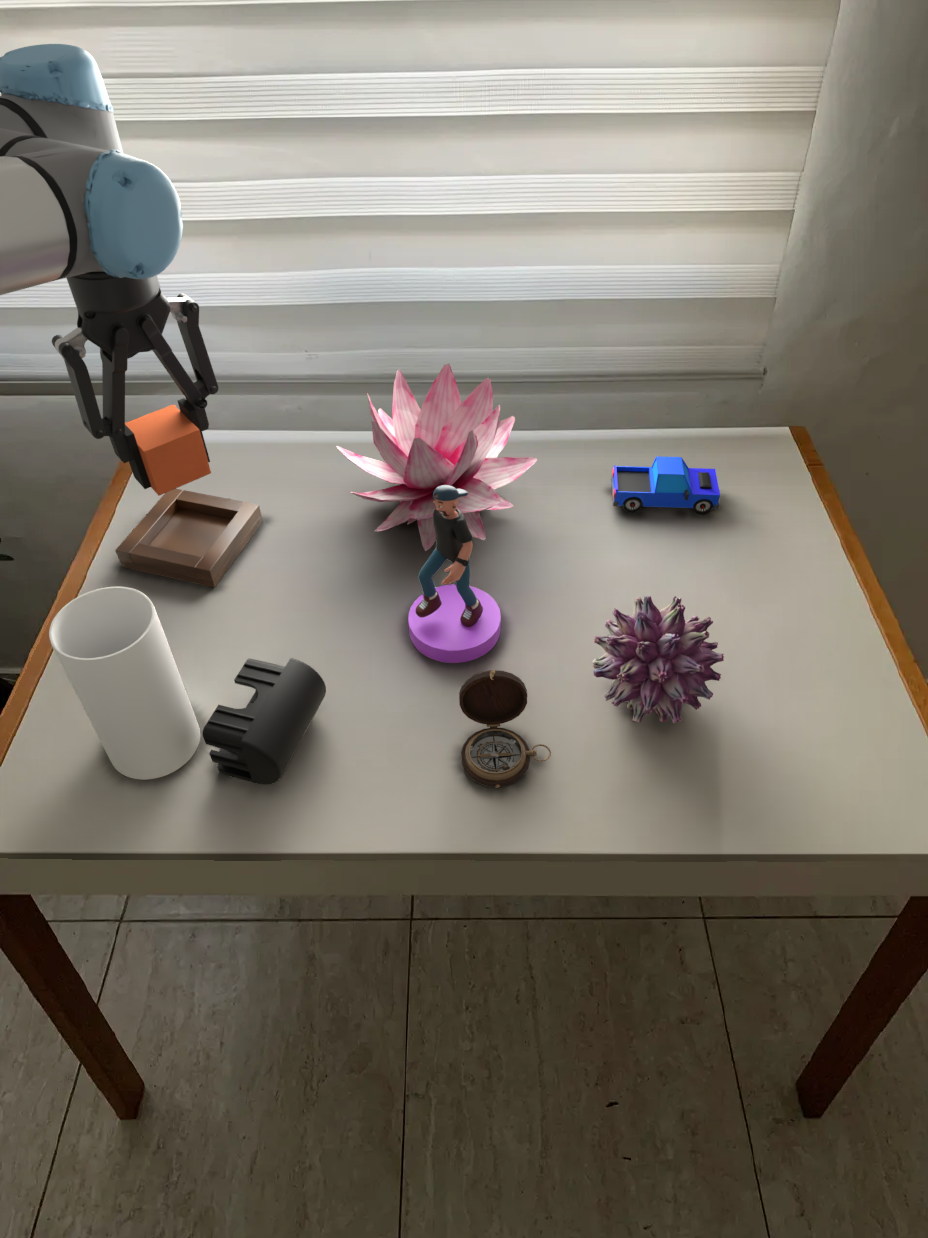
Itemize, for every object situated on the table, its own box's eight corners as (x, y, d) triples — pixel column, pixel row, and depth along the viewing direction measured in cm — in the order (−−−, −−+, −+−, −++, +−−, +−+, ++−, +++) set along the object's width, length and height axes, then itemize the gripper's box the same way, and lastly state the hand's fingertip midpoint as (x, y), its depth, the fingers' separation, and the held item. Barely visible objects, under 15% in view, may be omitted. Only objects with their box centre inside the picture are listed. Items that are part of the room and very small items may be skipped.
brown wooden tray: (214, 587, 98) (209, 570, 96) (121, 567, 101) (114, 550, 99) (263, 521, 106) (259, 504, 104) (175, 503, 108) (170, 487, 107)
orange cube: (158, 496, 93) (143, 451, 89) (134, 468, 97) (119, 424, 93) (211, 473, 96) (199, 429, 92) (186, 447, 99) (173, 403, 95)
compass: (462, 792, 79) (461, 741, 74) (459, 720, 85) (458, 668, 80) (554, 788, 79) (559, 737, 74) (545, 716, 85) (549, 664, 80)
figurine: (391, 624, 94) (375, 484, 81) (461, 584, 98) (457, 444, 85) (447, 677, 89) (440, 536, 76) (519, 632, 93) (524, 491, 80)
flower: (689, 767, 83) (564, 725, 83) (702, 667, 90) (588, 629, 91) (741, 697, 74) (600, 651, 74) (750, 592, 81) (623, 551, 82)
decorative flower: (403, 439, 117) (394, 331, 106) (558, 483, 110) (565, 371, 99) (311, 539, 103) (290, 426, 93) (480, 595, 96) (479, 481, 86)
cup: (213, 713, 86) (171, 591, 75) (179, 785, 80) (128, 666, 69) (132, 702, 87) (78, 581, 76) (93, 773, 82) (28, 653, 70)
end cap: (286, 797, 79) (273, 751, 74) (214, 777, 81) (196, 731, 76) (331, 710, 86) (322, 663, 81) (264, 694, 88) (250, 646, 83)
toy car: (717, 520, 104) (725, 485, 101) (612, 516, 105) (616, 482, 102) (711, 484, 109) (718, 449, 105) (610, 481, 110) (614, 447, 106)
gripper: (11, 303, 73) (100, 524, 90) (223, 237, 81) (268, 451, 98) (-18, 270, 77) (72, 487, 94) (185, 211, 85) (235, 421, 102)
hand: (172, 468), depth 96 cm, fingers closed on orange cube, 6 cm apart
